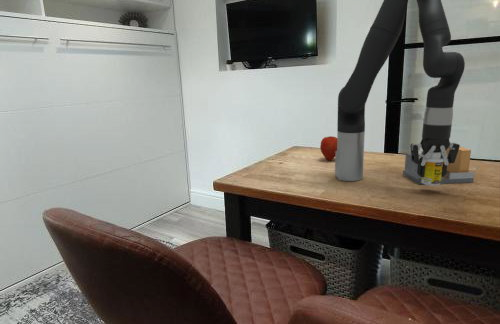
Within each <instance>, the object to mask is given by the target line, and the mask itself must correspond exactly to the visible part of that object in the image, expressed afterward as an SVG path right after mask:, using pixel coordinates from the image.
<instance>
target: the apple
mask: <svg viewBox="0 0 500 324" xmlns="http://www.w3.org/2000/svg"><path fill="white" fill-rule="evenodd" d="M319 147H320V148H319V149H320V151H321V154H322V155H323V157H324V158H325V160H326V161H332V160H335V152H336V151H337V136H325V137H323V138H322V139H321V141H320V146H319Z"/></svg>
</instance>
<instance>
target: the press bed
mask: <svg viewBox="0 0 500 324" xmlns="http://www.w3.org/2000/svg"><path fill="white" fill-rule="evenodd" d="M419 158H420V154H419ZM404 160H405V161H404V170H403V171H402V175H403V176H404V177H406V178H408V179H409V180H411V181H413V182H414V183H415V184H417V185H418V186H419V185H420V186H423V185H426V184H423V183H422V182H421V177H420V176H419V175H418V174H417V168H418V164H416V163H414V162H412V158H411V151H410V152H405V159H404ZM474 178H475V172H474V171H468V172H453V173H450V172H448V171H446V175H444V177H441V183H440V184H439V185H441V184H442V185H443V184H446V185H447V184H469V183H474Z"/></svg>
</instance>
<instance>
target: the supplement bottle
mask: <svg viewBox="0 0 500 324" xmlns="http://www.w3.org/2000/svg"><path fill="white" fill-rule="evenodd" d="M424 166H425V172H424V177H421V182H422V183H423V184H425V185H427V186H432V187H433V186H439V185H441V184H440V183H441V176H442V168H443V159H442V158H441V152H433V153H432V154H431V156H430V158H429V159H428V160H427V161H426V163H425V165H424Z"/></svg>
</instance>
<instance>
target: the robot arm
mask: <svg viewBox="0 0 500 324" xmlns="http://www.w3.org/2000/svg"><path fill="white" fill-rule="evenodd" d="M408 2H409V0H383V1H382V4H381V5H380V8H379V10H378V12H377V15H376V16H375V18H374V20H373V22H372V24H371V26H370V28H369V30H368V32H367V35H366V37H365V39H364V41H363V44H362V47H361V50H360V52H359V56H358V59H357V62H356V64H355V68H354V70H353V71H352V73H351V75H350V77H349V79H348V80H347V82H346V83H345V85H344V86H342V88H341V89H340V91H339V93H338V95H337V96H338V97H337V125H336V126H337V128H336V129H337V136H336V138H337V151H336V152H335V157H334V163H335V164H334V176H335V178H336V179H337V180H338V181H345V182H358V181H361V180H363V178H364V158H365V156H364V155H365V131H366V119H365V118H366V117H365V115H366V110H365V109H366V104H367V101H368V97H369V96H370V92H371V90H372V87H373V85H374V83H375V81H376V79H377V76H378V74H379V73H380V72H381V69H382V68H383V67H384V65H385V63H386V61H387V60H388V59H389V56H390V55H391V53H392V51H393V49H394V48H395V45H396V44H397V42H398V40H399V38H400V35H401V34H402V30H403V27H404V22H405V17H406V12H407V7H408ZM416 3H417V7H418V8H417V9H418V25H419V26H418V27H419V31H420V34H421V39H422V42H423V57H422V58H423V59H422V66H423V67H422V68H423V70H424V72H425V75H427V76H428V77H429V78H432V79H437V78H438V79H439V81H438V83H437V85H434V86H431V87H430V88H428V90H427V94H426V102H425V103H426V105H425V109H424V112H423V113H424V114H423V119H422V121H423V122H422V132H421V140H420V142H419V143H411V144H410V147H409V148H410V152H411V158H412V162H414V163H416V164H418V168H417V174H418V175H419V176H420V177H424V172H425V166H424V165H425V163H426V161H427V160H428V159H429V158H430V156H431V154H432V153H433V152H441V158H442V159H443V168H442V176H441V177H444V175H446V171H447V165H448V164H450V163H454V162H455V160H456V156H457V153H458V150H459V147H461V145H460V144H458V143H456V142H451V141H450V138H451V134H452V126H453V119H454V117H453V116H454V103H455V102H454V101H455V93H456V91H457V89H458V87H459V84H460V81H461V79H462V77H463V75H464V71H465V64H466V63H465V58H464V56H463V55H462V54H461V53H460V52H456V51H444V50H443V47H446V46H447V45H448V44H450V42H451V40H452V35H451V34H452V33H451V31H450V26H449V23H448V19H447V16H446V13H445V9H444V6H443V3H442V0H416ZM448 147H449V149H450V150H449V153H448V156H447V154H446V150H447V149H448ZM421 149H422V151H421V152H420V154H419V151H420V150H421ZM419 155H420V158H419Z"/></svg>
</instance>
